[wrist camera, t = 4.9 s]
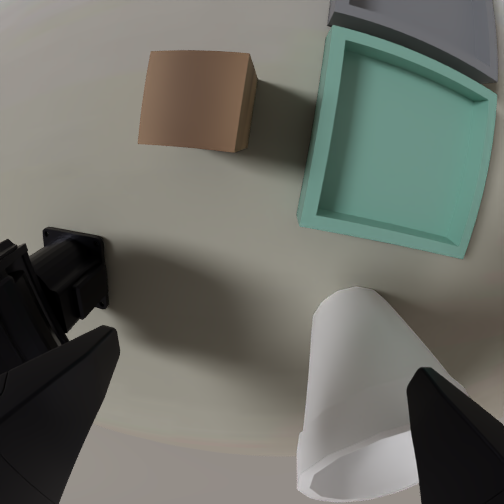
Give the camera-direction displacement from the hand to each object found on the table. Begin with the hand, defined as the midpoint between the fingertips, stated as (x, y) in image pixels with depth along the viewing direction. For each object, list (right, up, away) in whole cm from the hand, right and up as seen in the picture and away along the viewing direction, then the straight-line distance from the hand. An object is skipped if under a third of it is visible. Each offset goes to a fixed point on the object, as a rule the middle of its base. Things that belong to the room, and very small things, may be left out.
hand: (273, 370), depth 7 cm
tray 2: (+9, +10, +9) cm, 16 cm away
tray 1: (+11, +22, +4) cm, 25 cm away
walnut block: (-3, +12, +9) cm, 15 cm away
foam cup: (+7, -2, +14) cm, 16 cm away
